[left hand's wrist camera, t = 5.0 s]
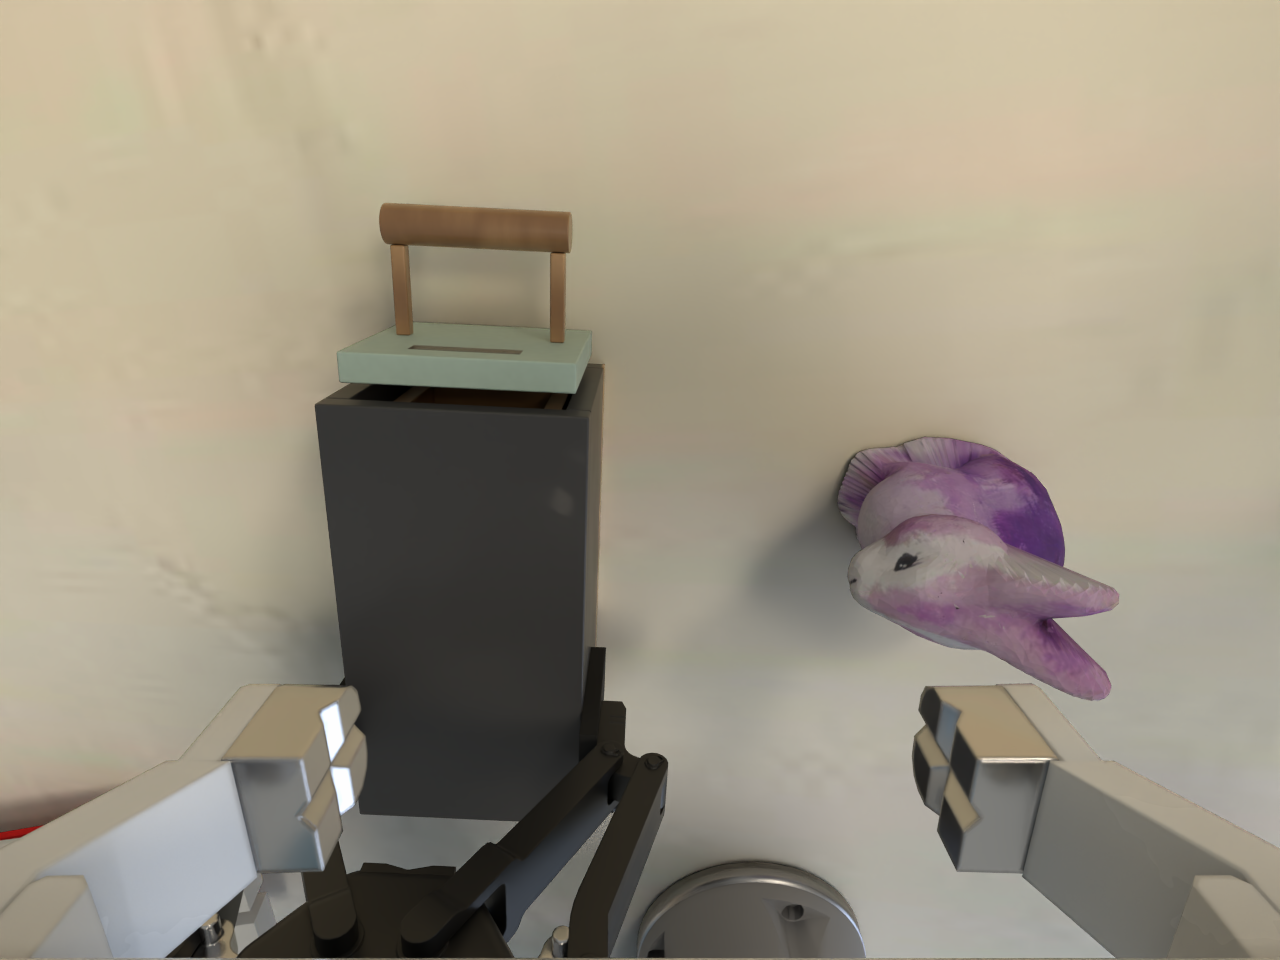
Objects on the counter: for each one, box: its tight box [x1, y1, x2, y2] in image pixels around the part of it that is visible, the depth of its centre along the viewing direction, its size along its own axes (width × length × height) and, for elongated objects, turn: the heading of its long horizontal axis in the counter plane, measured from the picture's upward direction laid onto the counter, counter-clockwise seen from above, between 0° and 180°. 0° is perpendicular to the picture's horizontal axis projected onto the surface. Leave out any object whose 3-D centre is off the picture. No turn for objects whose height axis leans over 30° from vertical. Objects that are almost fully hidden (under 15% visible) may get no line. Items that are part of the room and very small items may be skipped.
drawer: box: [337, 203, 592, 410], centre depth 33 cm, size 24×9×8 cm, turn 177°
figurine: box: [838, 437, 1119, 701], centre depth 32 cm, size 9×10×15 cm
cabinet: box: [315, 364, 605, 821], centre depth 35 cm, size 20×10×10 cm, turn 177°
